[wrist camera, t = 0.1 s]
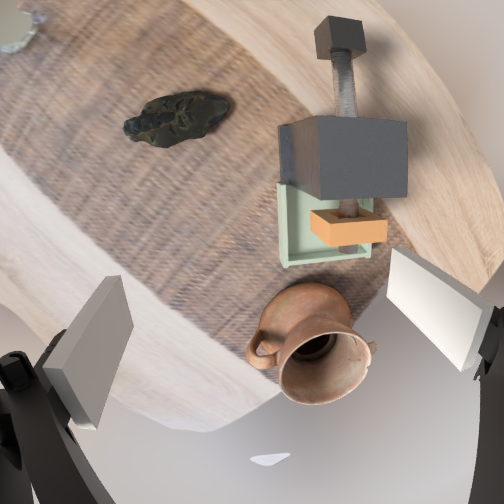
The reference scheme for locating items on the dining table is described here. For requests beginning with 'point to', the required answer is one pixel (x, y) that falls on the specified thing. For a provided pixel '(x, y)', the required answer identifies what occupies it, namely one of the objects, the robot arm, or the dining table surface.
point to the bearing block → (345, 157)
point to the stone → (176, 118)
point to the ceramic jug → (311, 344)
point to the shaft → (342, 81)
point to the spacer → (348, 227)
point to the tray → (308, 228)
